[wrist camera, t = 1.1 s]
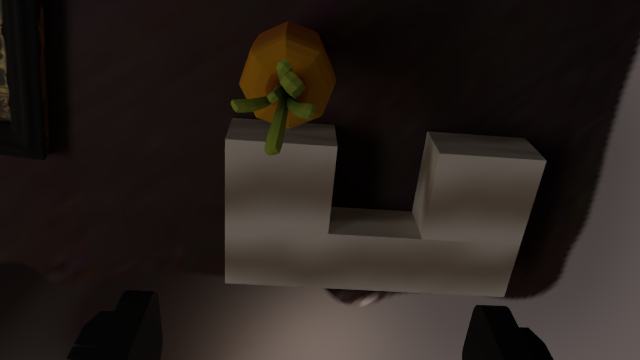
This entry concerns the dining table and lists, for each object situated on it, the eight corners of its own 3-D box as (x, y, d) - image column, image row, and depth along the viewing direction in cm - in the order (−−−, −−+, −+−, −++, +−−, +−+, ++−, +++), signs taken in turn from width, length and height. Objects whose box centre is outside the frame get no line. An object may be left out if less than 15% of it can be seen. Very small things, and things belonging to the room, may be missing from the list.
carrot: (293, 89, 37) (287, 188, 24) (240, 40, 35) (201, 117, 22) (343, 38, 35) (366, 114, 22) (290, -16, 34) (280, 31, 20)
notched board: (232, 117, 38) (225, 139, 34) (524, 138, 39) (546, 160, 36) (231, 252, 43) (225, 282, 40) (488, 266, 45) (503, 296, 41)
